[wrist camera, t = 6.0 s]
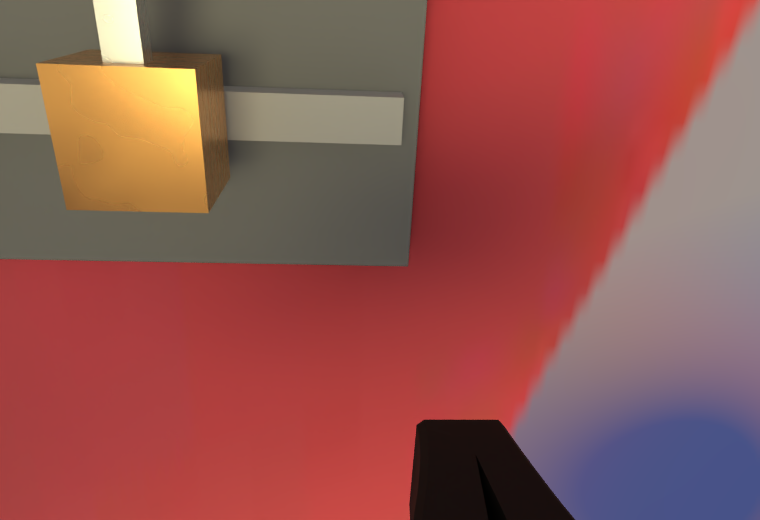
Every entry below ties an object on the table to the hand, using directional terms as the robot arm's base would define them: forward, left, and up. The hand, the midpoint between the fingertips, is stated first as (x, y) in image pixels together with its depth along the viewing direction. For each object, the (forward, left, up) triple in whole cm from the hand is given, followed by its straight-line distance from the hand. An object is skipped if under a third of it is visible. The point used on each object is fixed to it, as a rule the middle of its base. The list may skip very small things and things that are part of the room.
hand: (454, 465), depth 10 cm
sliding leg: (-6, +7, -8) cm, 12 cm away
